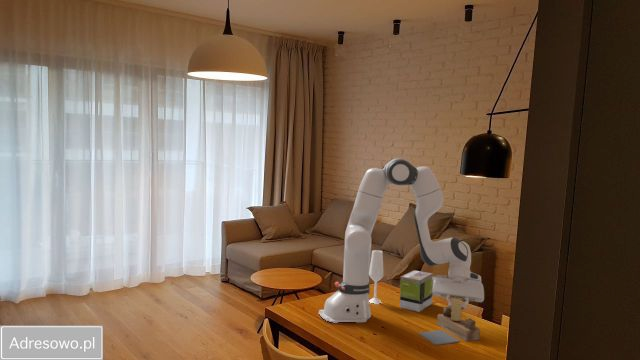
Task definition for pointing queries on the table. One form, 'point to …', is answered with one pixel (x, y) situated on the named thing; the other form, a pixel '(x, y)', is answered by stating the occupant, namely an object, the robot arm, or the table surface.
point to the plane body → (458, 326)
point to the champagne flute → (376, 272)
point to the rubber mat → (439, 337)
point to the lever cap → (456, 308)
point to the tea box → (416, 290)
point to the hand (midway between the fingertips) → (456, 307)
